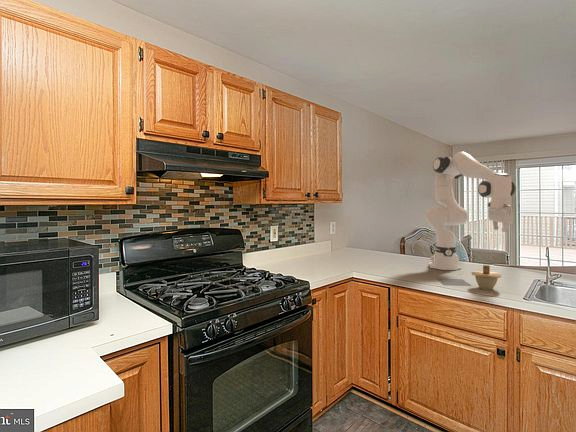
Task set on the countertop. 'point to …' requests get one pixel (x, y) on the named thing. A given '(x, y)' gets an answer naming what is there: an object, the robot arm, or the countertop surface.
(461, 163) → the robot arm
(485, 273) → the lid
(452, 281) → the mat
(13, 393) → the countertop surface
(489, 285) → the olive bowl
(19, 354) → the countertop surface
